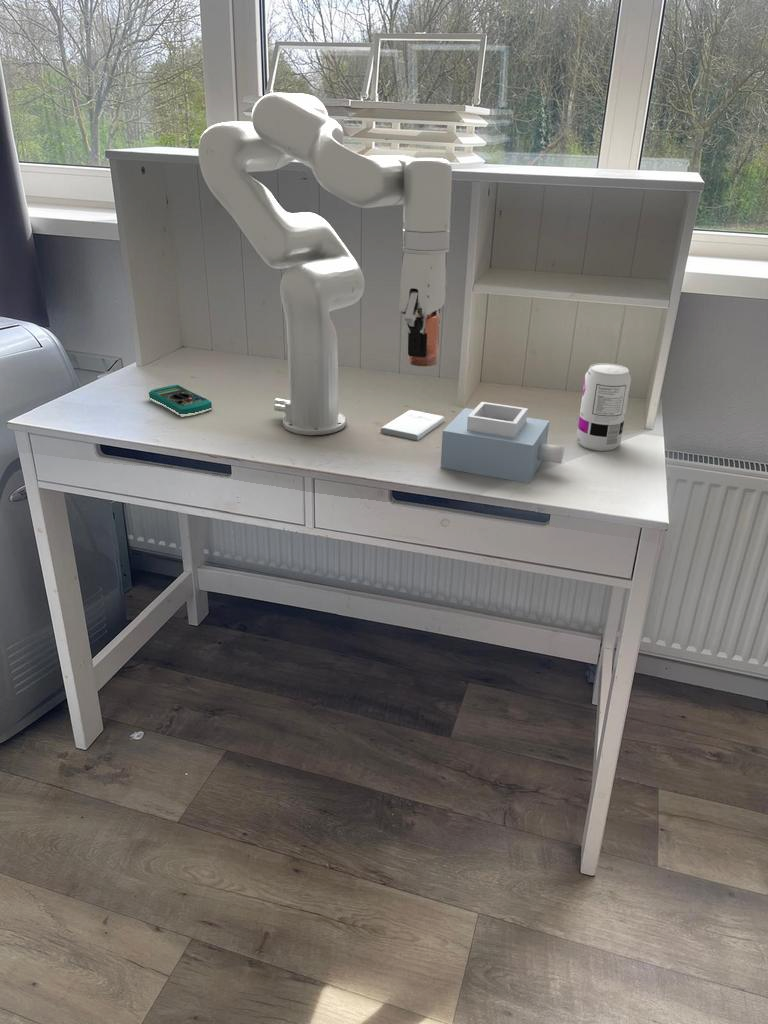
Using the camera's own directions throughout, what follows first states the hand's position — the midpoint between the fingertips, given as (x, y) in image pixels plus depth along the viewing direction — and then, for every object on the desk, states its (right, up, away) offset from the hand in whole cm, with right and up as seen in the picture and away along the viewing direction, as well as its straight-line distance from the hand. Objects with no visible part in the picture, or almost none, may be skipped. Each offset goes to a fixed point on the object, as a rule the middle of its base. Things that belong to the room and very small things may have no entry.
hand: (423, 351), depth 135 cm
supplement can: (+35, -15, +16) cm, 41 cm away
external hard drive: (-1, -11, +23) cm, 26 cm away
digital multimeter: (-50, -6, +32) cm, 60 cm away
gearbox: (+15, -19, +7) cm, 25 cm away
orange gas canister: (0, -2, +1) cm, 2 cm away
